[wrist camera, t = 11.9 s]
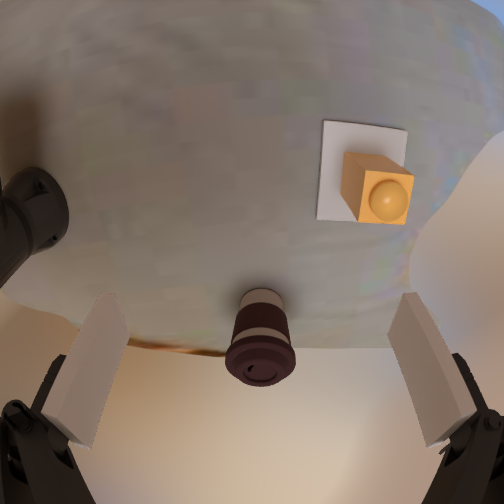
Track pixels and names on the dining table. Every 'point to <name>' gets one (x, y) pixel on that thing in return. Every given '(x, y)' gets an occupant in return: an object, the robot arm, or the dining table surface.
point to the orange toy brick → (376, 188)
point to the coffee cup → (260, 341)
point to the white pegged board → (332, 157)
